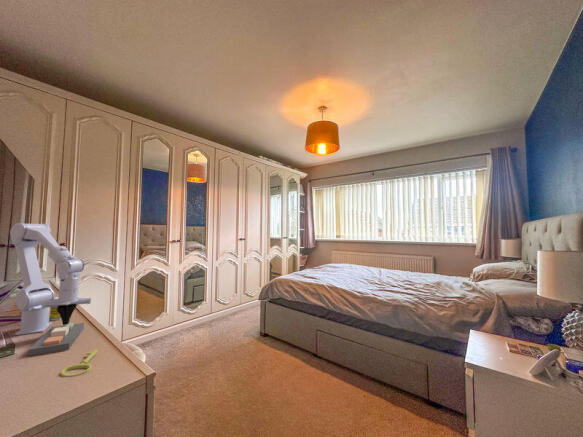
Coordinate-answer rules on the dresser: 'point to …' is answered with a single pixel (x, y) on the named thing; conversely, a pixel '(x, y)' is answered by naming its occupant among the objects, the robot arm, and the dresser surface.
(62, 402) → the dresser surface
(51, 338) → the terracotta key
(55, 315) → the supplement bottle
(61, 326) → the sage key
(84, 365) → the key
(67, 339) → the grey flat frame
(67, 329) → the cream key
